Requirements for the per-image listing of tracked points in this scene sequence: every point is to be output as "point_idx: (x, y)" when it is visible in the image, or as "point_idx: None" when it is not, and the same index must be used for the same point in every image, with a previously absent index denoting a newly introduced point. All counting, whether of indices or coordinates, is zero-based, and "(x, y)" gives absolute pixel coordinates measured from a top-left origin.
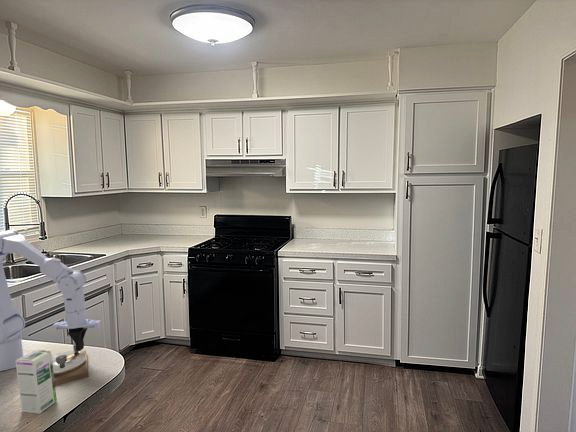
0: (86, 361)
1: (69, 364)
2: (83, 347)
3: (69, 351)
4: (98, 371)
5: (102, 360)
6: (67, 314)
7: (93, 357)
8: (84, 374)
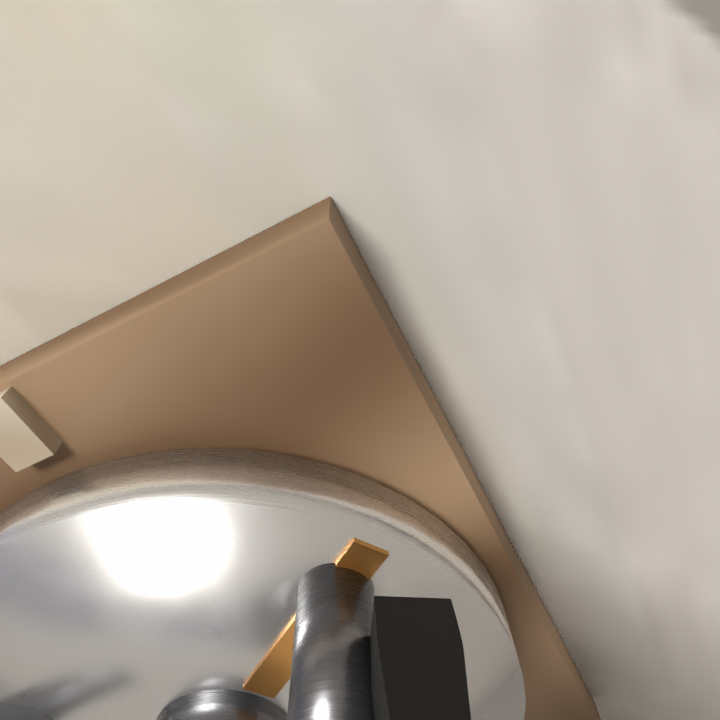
0: (512, 582)
1: None
2: (452, 618)
3: (138, 510)
4: (673, 633)
5: (670, 417)
6: None
7: (502, 317)
8: None
